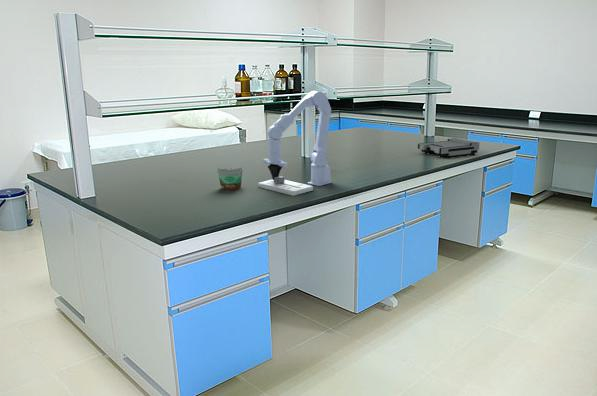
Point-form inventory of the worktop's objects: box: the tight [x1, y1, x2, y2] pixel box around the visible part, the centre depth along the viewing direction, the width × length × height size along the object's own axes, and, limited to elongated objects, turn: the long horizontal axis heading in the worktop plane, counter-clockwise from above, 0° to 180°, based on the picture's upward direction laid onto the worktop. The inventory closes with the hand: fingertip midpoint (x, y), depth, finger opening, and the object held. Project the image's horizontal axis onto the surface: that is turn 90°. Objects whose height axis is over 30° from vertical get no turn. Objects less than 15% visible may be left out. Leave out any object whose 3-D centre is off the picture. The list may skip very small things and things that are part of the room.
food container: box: [216, 167, 245, 192], centre depth 227 cm, size 12×6×10 cm, turn 106°
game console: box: [417, 137, 480, 159], centre depth 313 cm, size 21×32×8 cm, turn 118°
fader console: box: [257, 179, 314, 197], centre depth 229 cm, size 13×23×2 cm, turn 47°
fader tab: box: [274, 175, 285, 184], centre depth 231 cm, size 4×3×3 cm
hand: (275, 180), depth 233 cm, fingers closed
